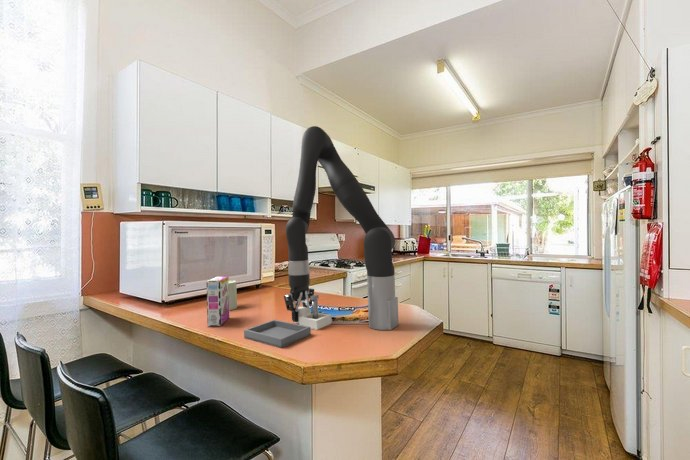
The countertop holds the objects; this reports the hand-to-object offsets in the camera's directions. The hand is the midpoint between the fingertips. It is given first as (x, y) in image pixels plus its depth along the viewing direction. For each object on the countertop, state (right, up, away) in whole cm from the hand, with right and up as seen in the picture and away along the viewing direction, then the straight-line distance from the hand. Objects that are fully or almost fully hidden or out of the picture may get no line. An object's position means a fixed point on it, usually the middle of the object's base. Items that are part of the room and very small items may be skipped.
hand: (300, 319), depth 114 cm
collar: (+4, -1, -3) cm, 5 cm away
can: (-36, -2, +24) cm, 43 cm away
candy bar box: (-31, -2, +3) cm, 31 cm away
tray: (-5, -1, -15) cm, 16 cm away
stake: (+6, -1, -4) cm, 7 cm away
